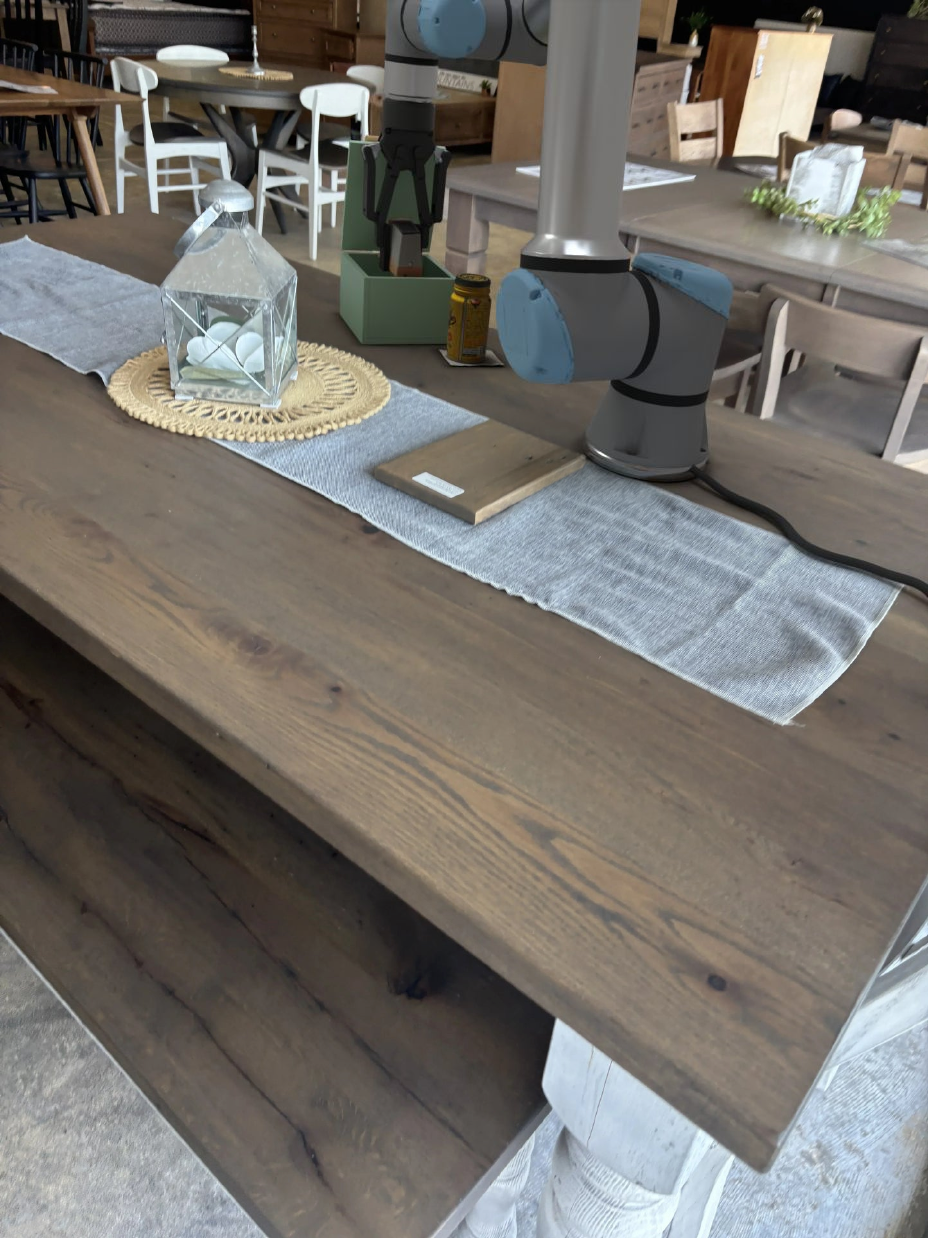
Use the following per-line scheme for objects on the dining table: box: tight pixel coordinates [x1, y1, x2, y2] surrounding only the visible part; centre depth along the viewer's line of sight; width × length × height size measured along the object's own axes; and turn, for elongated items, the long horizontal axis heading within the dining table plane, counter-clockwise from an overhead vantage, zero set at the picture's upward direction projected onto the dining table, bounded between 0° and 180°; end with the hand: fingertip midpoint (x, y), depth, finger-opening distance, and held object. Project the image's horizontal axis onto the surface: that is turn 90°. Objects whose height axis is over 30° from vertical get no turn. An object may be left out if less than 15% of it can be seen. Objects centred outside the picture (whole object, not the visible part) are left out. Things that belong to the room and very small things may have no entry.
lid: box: [340, 134, 447, 253], centre depth 144 cm, size 17×15×9 cm
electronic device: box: [378, 218, 423, 277], centre depth 139 cm, size 4×10×8 cm, turn 22°
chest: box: [339, 251, 456, 345], centre depth 145 cm, size 16×15×10 cm
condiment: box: [439, 272, 505, 367], centre depth 135 cm, size 7×8×12 cm
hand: (399, 269), depth 141 cm, fingers closed on electronic device, 4 cm apart
